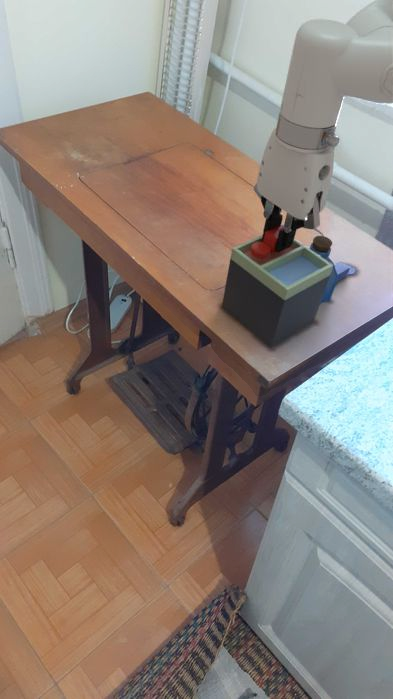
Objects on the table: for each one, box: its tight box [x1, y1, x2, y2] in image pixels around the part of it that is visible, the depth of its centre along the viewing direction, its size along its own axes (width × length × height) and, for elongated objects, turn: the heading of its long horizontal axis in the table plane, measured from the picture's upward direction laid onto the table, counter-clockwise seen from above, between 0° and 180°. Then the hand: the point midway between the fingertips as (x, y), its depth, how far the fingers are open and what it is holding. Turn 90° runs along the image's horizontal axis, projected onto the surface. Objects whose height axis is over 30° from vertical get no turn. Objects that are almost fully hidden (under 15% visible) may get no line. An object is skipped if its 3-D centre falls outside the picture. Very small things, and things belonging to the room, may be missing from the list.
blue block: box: [334, 261, 356, 282], centre depth 101 cm, size 7×3×3 cm, turn 130°
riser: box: [221, 258, 330, 349], centre depth 88 cm, size 10×12×11 cm
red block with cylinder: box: [250, 224, 284, 259], centre depth 83 cm, size 7×3×3 cm, turn 130°
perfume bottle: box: [308, 235, 338, 304], centre depth 92 cm, size 6×6×12 cm
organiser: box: [230, 234, 333, 300], centre depth 83 cm, size 10×12×2 cm
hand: (276, 243), depth 84 cm, fingers closed on red block with cylinder, 2 cm apart
